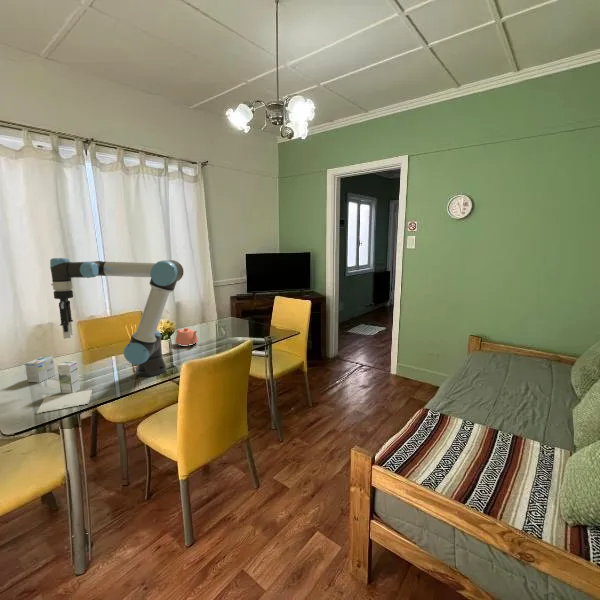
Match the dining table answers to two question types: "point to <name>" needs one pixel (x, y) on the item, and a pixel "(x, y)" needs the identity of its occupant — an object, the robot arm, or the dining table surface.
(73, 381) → the syrup box
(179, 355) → the dining table surface
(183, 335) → the teapot
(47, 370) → the light bulb box
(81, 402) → the mat
